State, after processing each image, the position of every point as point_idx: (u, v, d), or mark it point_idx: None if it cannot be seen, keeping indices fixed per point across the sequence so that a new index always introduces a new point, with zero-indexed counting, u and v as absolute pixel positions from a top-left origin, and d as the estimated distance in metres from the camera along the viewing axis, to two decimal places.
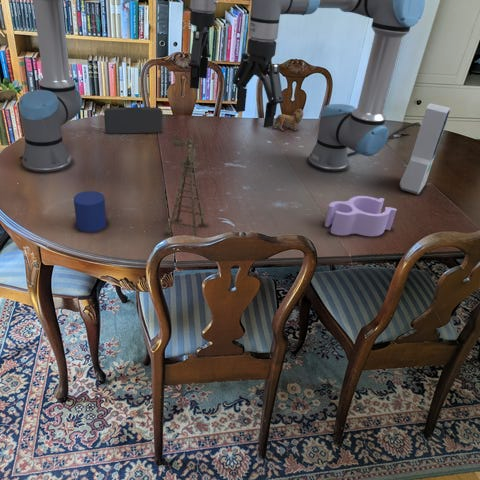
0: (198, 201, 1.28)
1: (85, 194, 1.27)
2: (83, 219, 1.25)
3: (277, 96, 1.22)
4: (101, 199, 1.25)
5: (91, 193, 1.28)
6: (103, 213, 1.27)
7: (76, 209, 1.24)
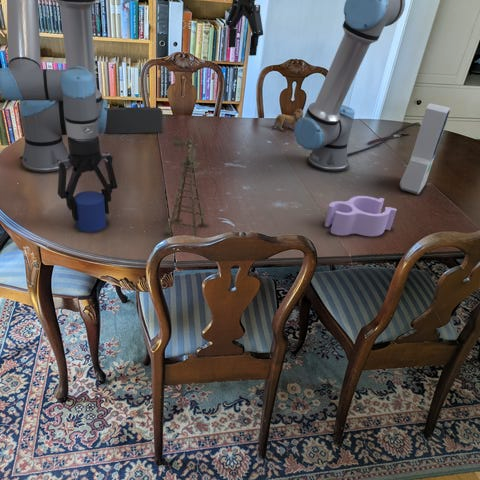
0: (198, 201, 1.28)
1: (85, 194, 1.27)
2: (83, 219, 1.25)
3: (258, 29, 1.62)
4: (101, 199, 1.25)
5: (91, 193, 1.28)
6: (103, 213, 1.27)
7: None
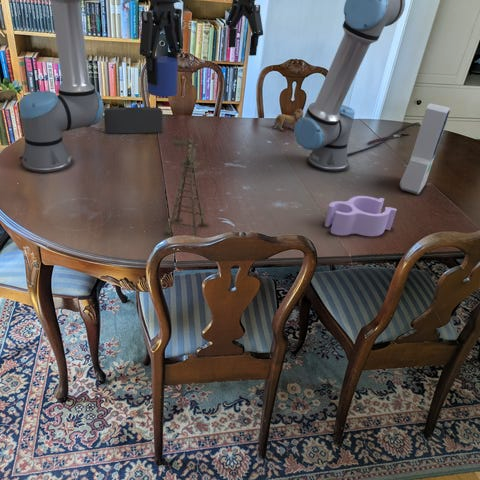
0: (198, 201, 1.28)
1: (155, 57, 1.21)
2: (164, 81, 1.20)
3: (258, 29, 1.62)
4: (175, 59, 1.22)
5: (159, 57, 1.23)
6: None
7: None
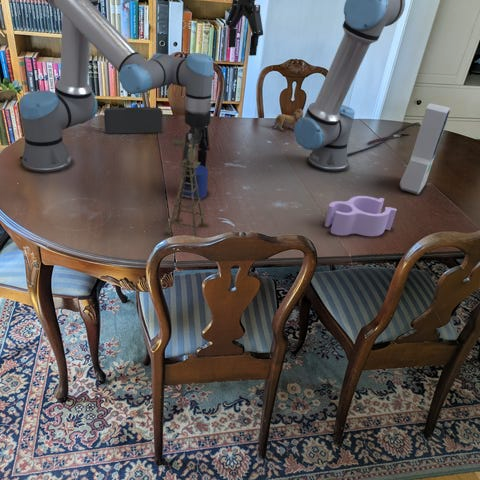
0: (198, 201, 1.28)
1: None
2: (200, 188, 1.47)
3: (258, 29, 1.62)
4: (204, 167, 1.49)
5: None
6: None
7: (193, 181, 1.45)
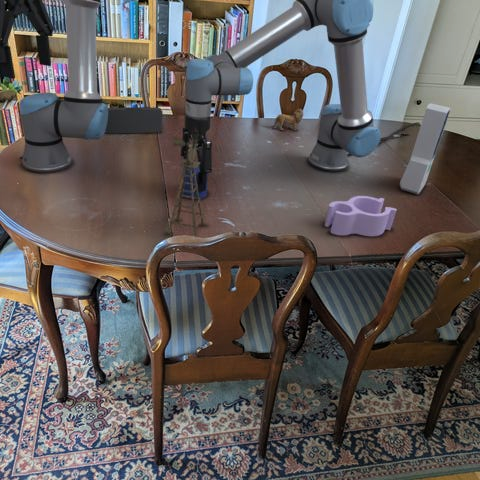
0: (198, 201, 1.28)
1: (189, 168, 1.47)
2: None
3: (206, 168, 1.40)
4: None
5: None
6: None
7: (193, 181, 1.45)
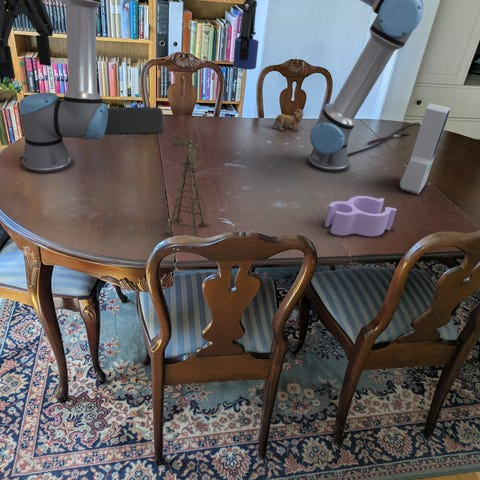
0: (198, 201, 1.28)
1: None
2: None
3: (242, 31, 1.48)
4: (257, 41, 1.56)
5: None
6: (256, 54, 1.58)
7: (237, 48, 1.55)
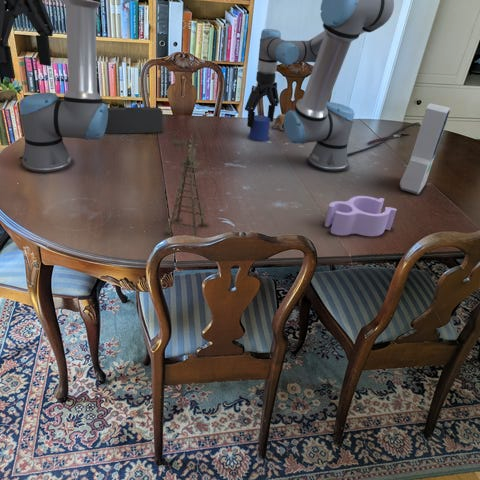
0: (198, 201, 1.28)
1: (260, 116, 1.97)
2: (253, 130, 1.95)
3: (247, 105, 1.85)
4: (267, 120, 1.94)
5: (264, 117, 1.97)
6: (266, 130, 1.95)
7: None
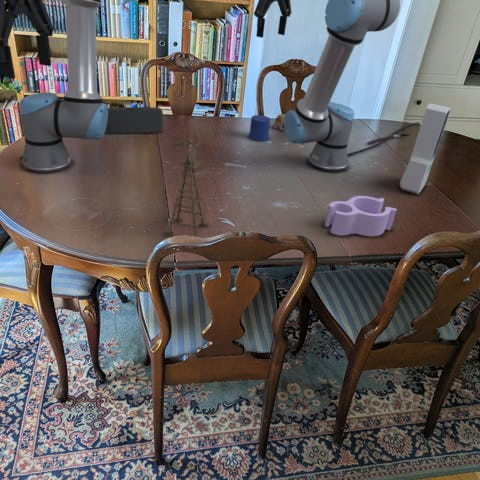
0: (198, 201, 1.28)
1: (260, 116, 1.97)
2: (253, 130, 1.95)
3: (256, 10, 1.67)
4: (267, 120, 1.94)
5: (264, 117, 1.97)
6: (266, 130, 1.95)
7: (251, 123, 1.96)
